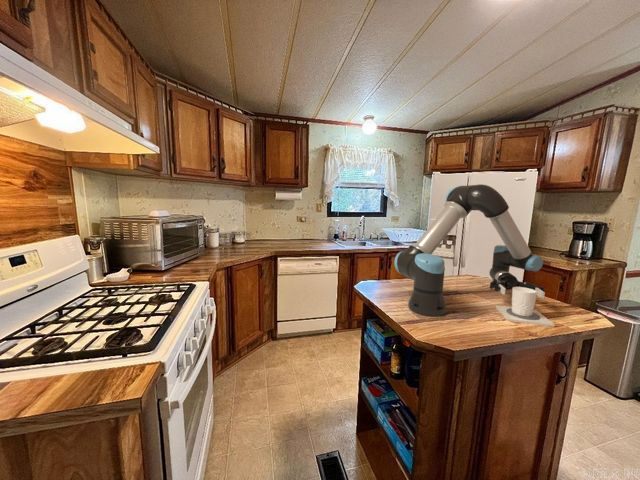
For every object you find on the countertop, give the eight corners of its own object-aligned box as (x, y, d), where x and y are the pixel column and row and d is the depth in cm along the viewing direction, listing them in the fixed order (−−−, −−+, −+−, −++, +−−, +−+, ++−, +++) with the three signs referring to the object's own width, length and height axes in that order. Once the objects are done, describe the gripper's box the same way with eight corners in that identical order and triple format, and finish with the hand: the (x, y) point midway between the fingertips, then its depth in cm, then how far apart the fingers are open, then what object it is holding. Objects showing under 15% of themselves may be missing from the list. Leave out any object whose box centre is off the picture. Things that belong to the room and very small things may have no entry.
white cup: (524, 318, 103) (527, 293, 102) (505, 310, 110) (507, 287, 109) (539, 316, 105) (542, 292, 104) (519, 308, 112) (522, 286, 111)
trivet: (507, 320, 103) (507, 318, 103) (495, 307, 117) (495, 304, 117) (554, 326, 98) (554, 324, 98) (536, 311, 112) (536, 309, 112)
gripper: (535, 290, 126) (559, 306, 106) (476, 284, 134) (488, 298, 114) (537, 275, 125) (561, 288, 105) (477, 270, 133) (489, 281, 113)
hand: (523, 293), depth 109 cm, fingers open, 13 cm apart
